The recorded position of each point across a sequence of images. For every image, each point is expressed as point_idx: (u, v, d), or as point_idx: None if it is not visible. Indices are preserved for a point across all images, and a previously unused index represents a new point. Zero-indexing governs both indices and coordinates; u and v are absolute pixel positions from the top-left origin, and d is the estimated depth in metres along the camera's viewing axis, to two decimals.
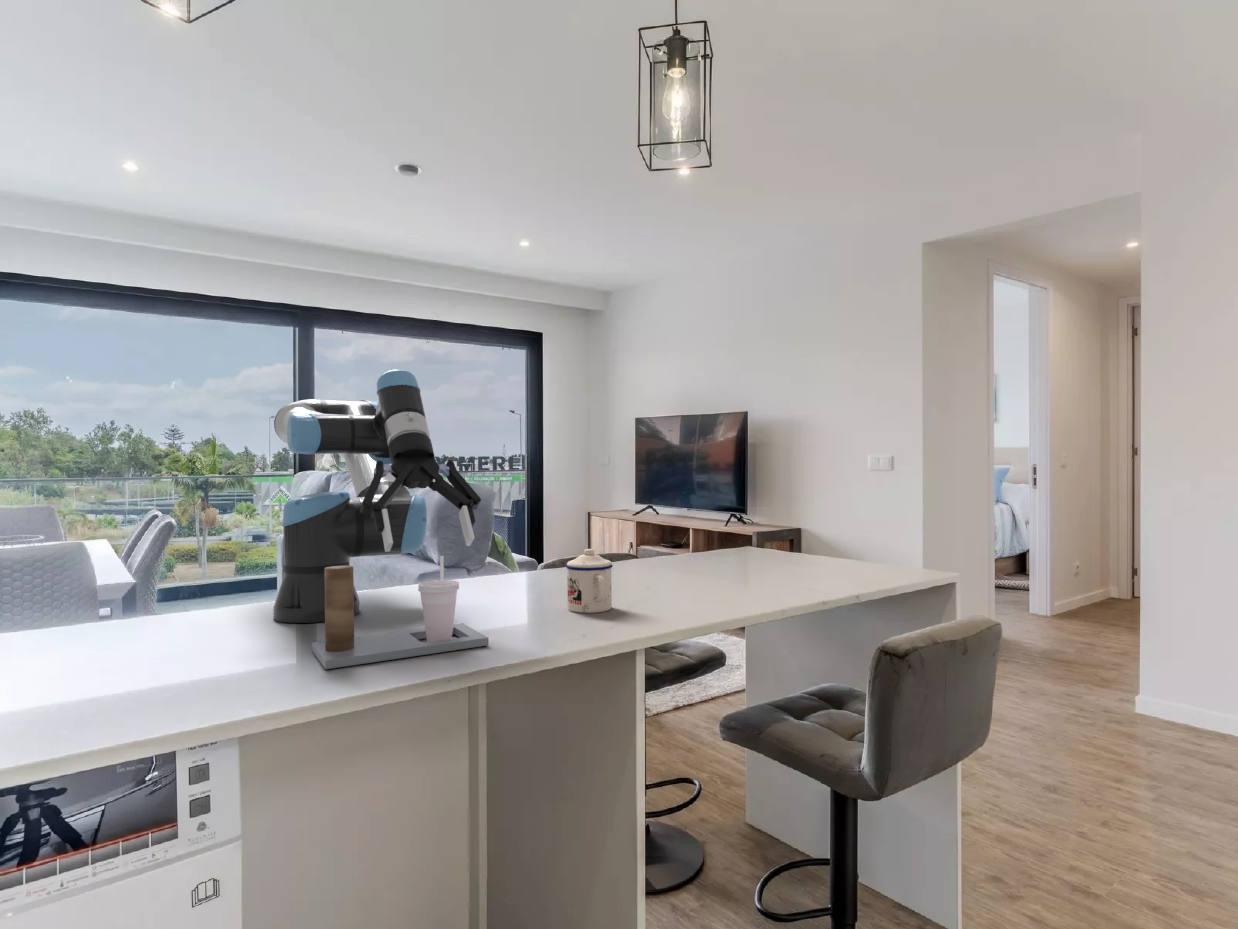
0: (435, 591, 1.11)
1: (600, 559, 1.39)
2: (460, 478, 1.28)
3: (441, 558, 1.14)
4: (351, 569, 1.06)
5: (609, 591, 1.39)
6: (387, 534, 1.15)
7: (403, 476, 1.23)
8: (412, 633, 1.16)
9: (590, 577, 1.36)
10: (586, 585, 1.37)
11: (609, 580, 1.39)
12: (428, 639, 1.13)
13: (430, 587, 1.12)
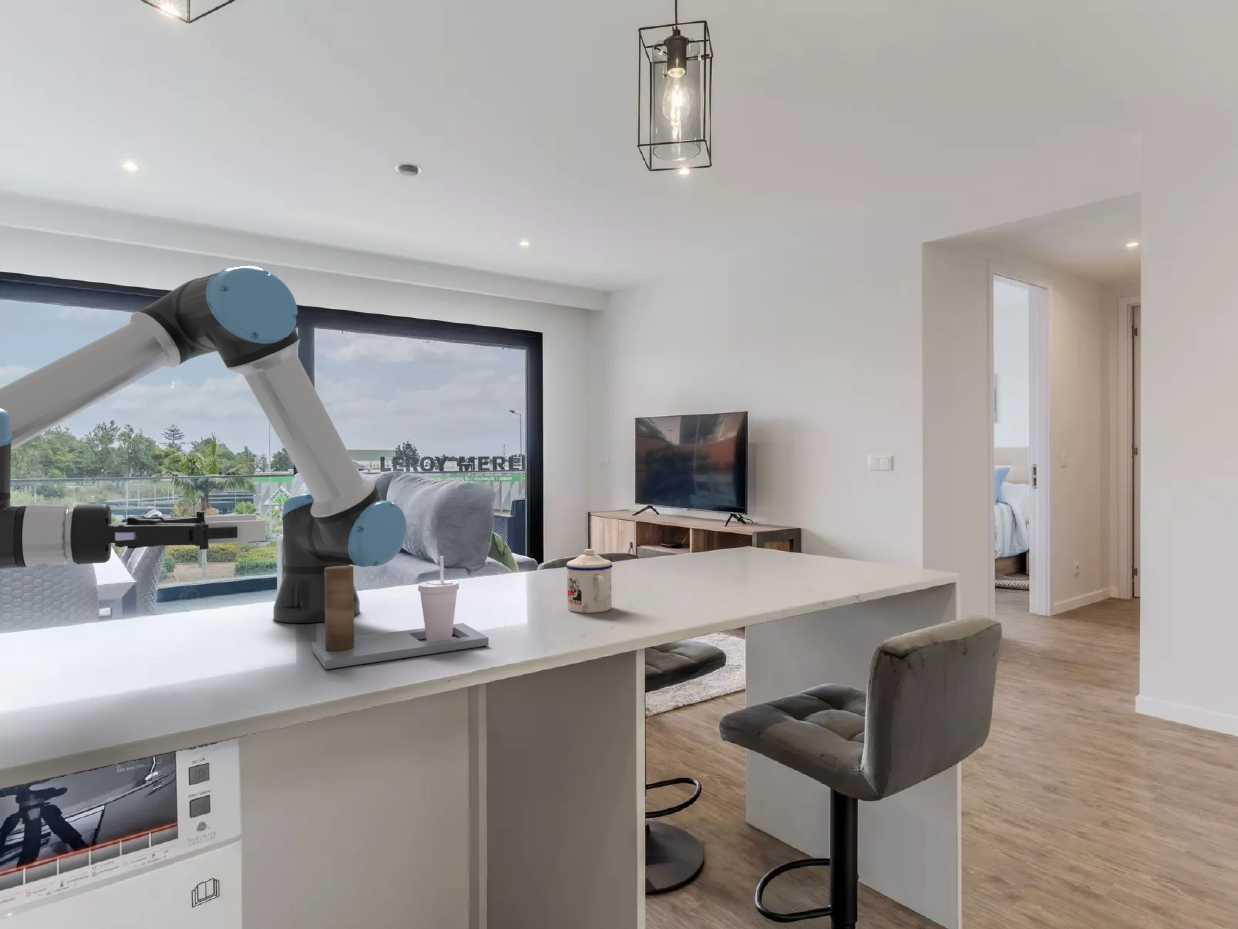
0: (435, 591, 1.11)
1: (600, 559, 1.39)
2: None
3: (441, 558, 1.14)
4: (351, 569, 1.06)
5: (609, 591, 1.39)
6: None
7: None
8: (412, 633, 1.16)
9: (590, 577, 1.36)
10: (586, 585, 1.37)
11: (609, 580, 1.39)
12: (428, 639, 1.13)
13: (430, 587, 1.12)
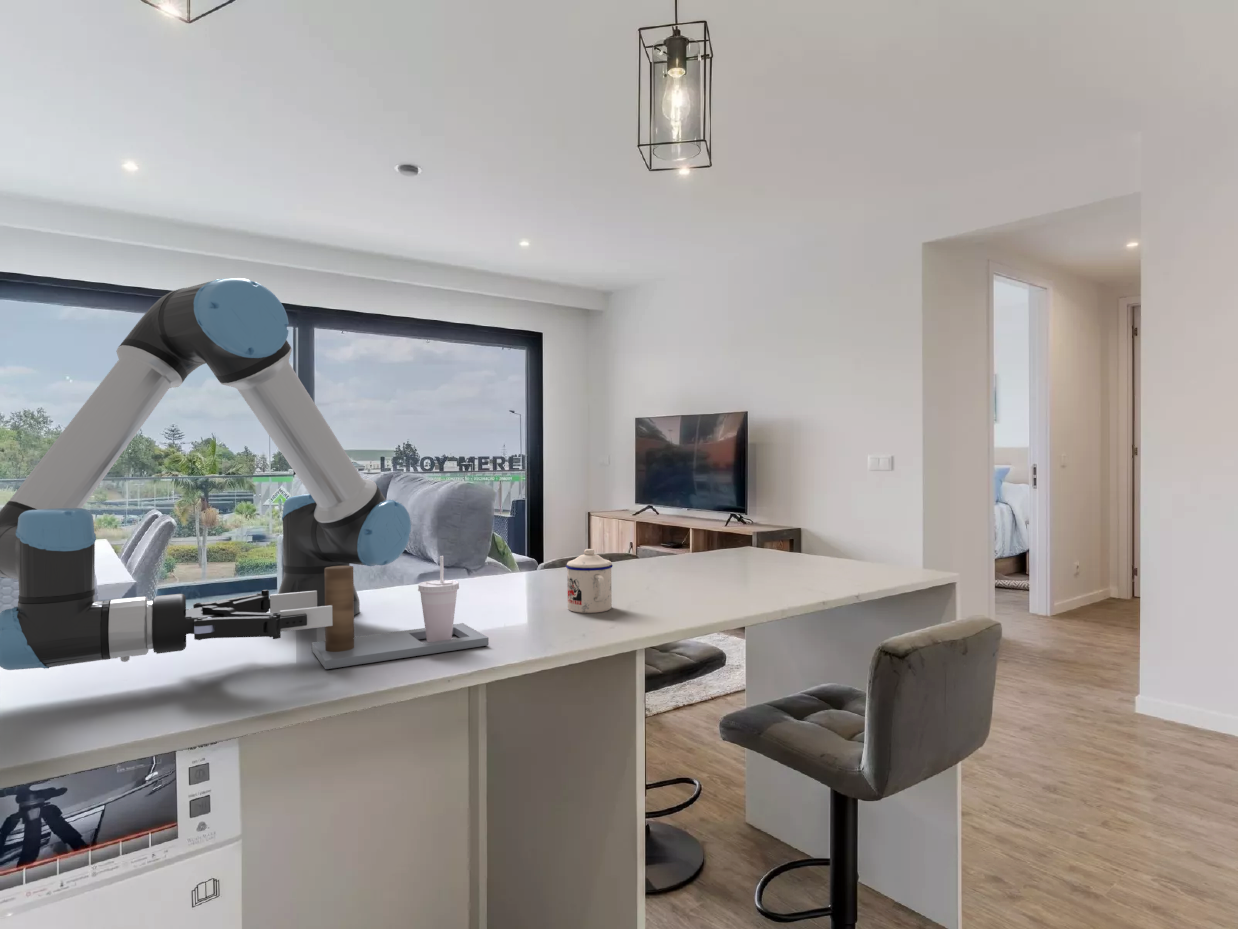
0: (435, 591, 1.11)
1: (600, 559, 1.39)
2: None
3: (441, 558, 1.14)
4: (351, 569, 1.06)
5: (609, 591, 1.39)
6: None
7: None
8: (412, 633, 1.16)
9: (590, 577, 1.36)
10: (586, 585, 1.37)
11: (609, 580, 1.39)
12: (428, 639, 1.13)
13: (430, 587, 1.12)
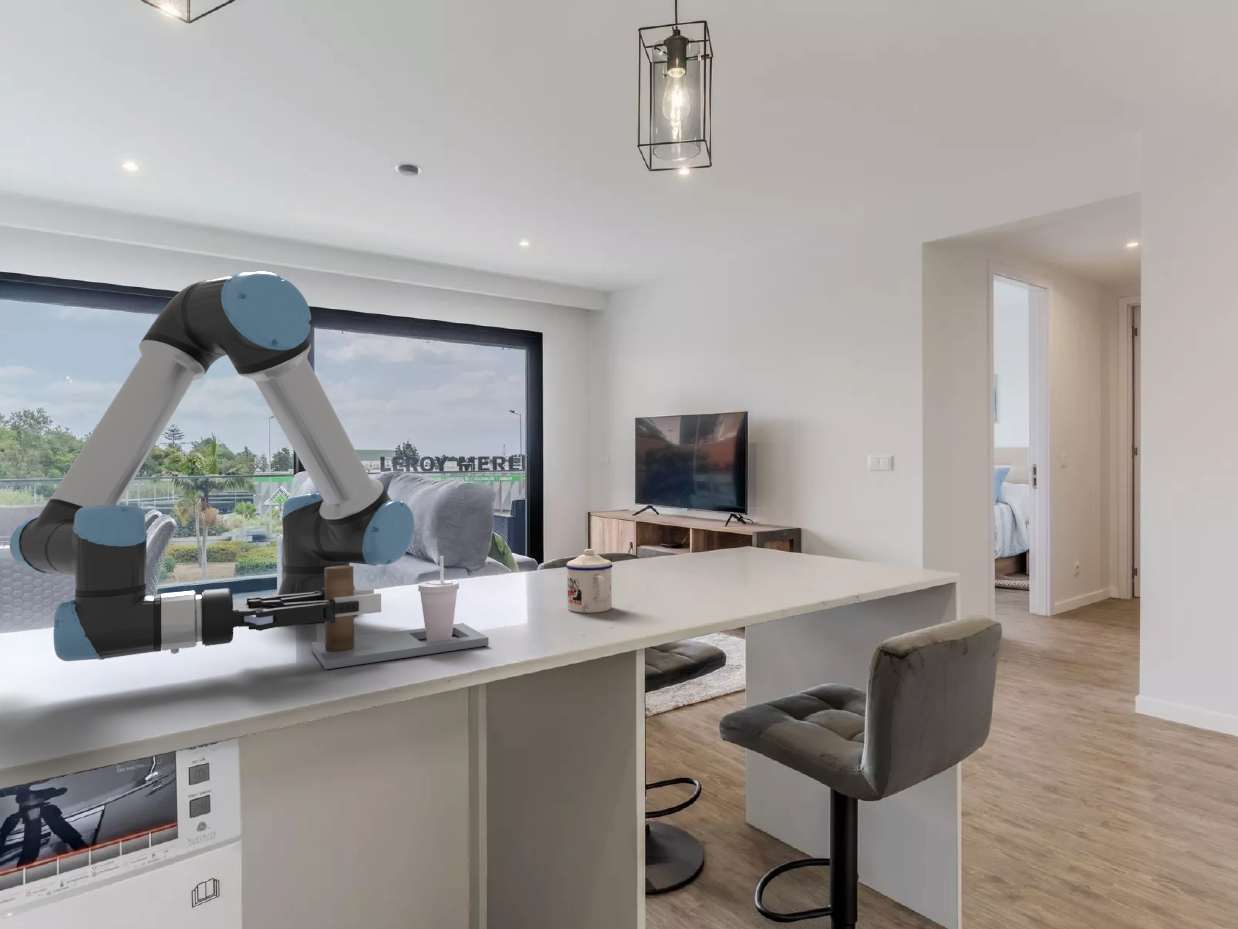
0: (435, 591, 1.11)
1: (600, 559, 1.39)
2: None
3: (441, 558, 1.14)
4: (351, 569, 1.06)
5: (609, 591, 1.39)
6: None
7: None
8: (412, 633, 1.16)
9: (590, 577, 1.36)
10: (586, 585, 1.37)
11: (609, 580, 1.39)
12: (428, 639, 1.13)
13: (430, 587, 1.12)
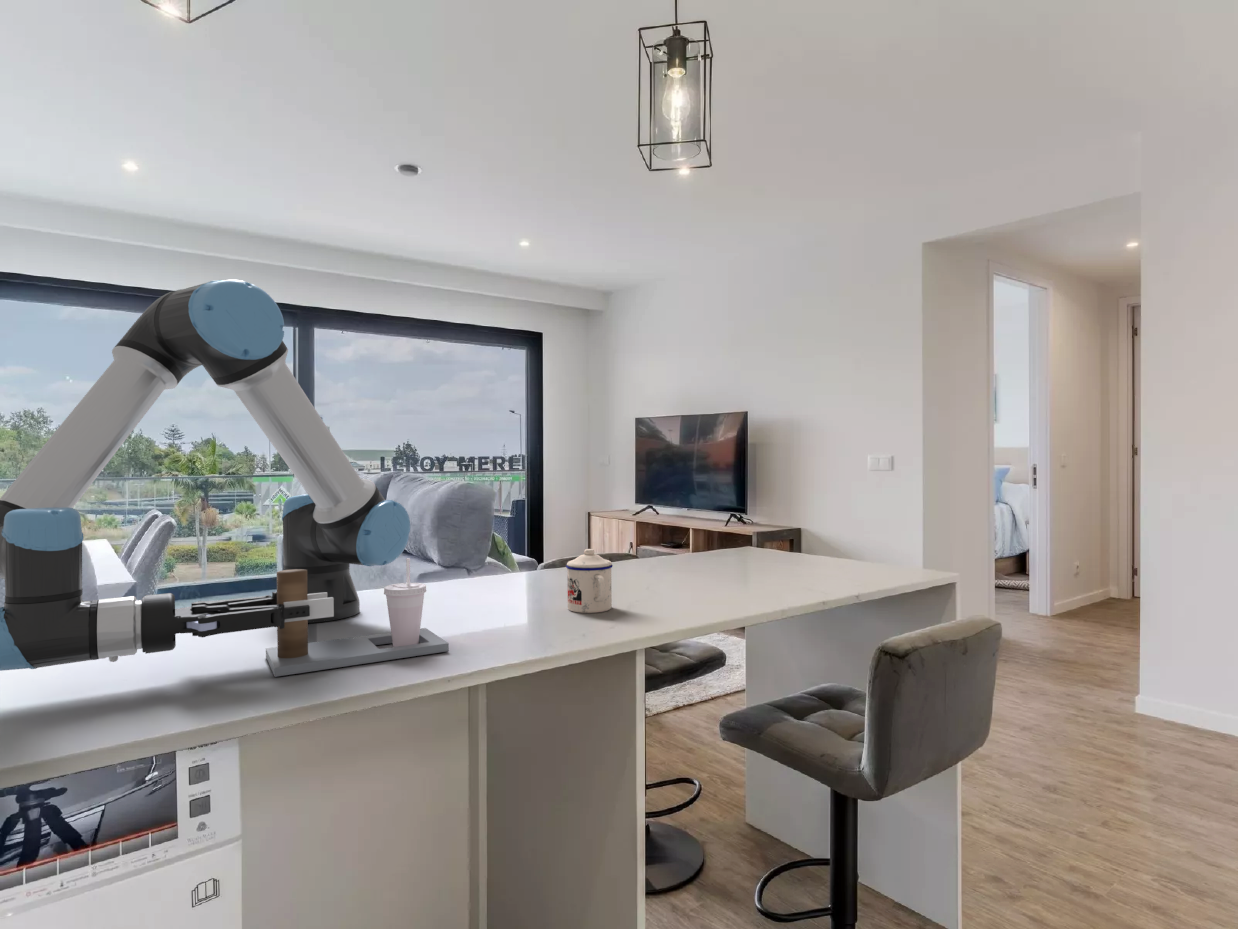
0: (399, 594, 1.09)
1: (600, 559, 1.39)
2: None
3: (407, 560, 1.12)
4: (304, 573, 1.03)
5: (609, 591, 1.39)
6: None
7: None
8: (371, 638, 1.13)
9: (590, 577, 1.36)
10: (586, 585, 1.37)
11: (609, 580, 1.39)
12: (393, 643, 1.11)
13: (394, 590, 1.09)
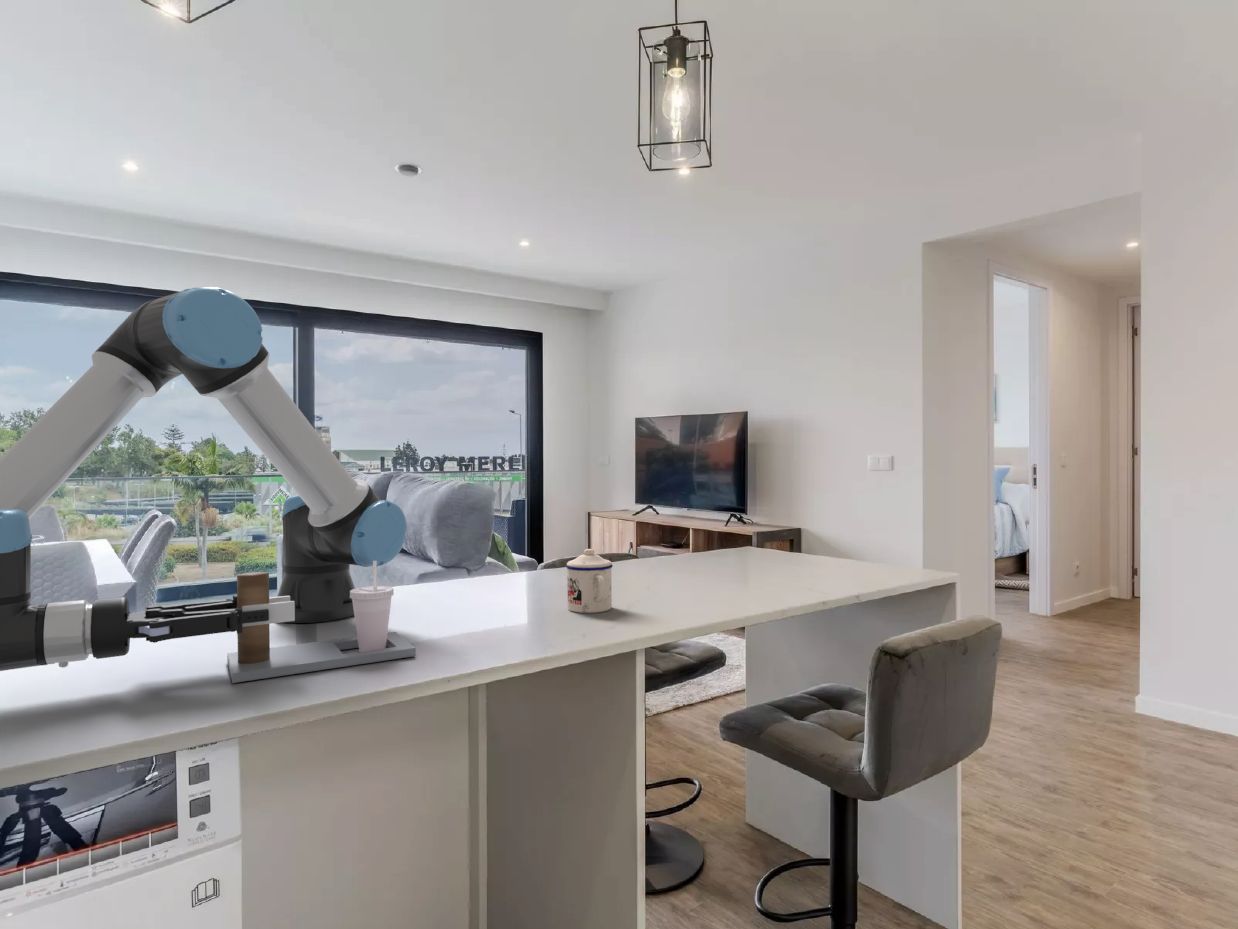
0: (365, 598, 1.06)
1: (600, 559, 1.39)
2: None
3: (374, 563, 1.09)
4: (265, 576, 1.01)
5: (609, 591, 1.39)
6: None
7: None
8: (337, 643, 1.10)
9: (590, 577, 1.36)
10: (586, 585, 1.37)
11: (609, 580, 1.39)
12: (359, 647, 1.08)
13: (360, 594, 1.06)
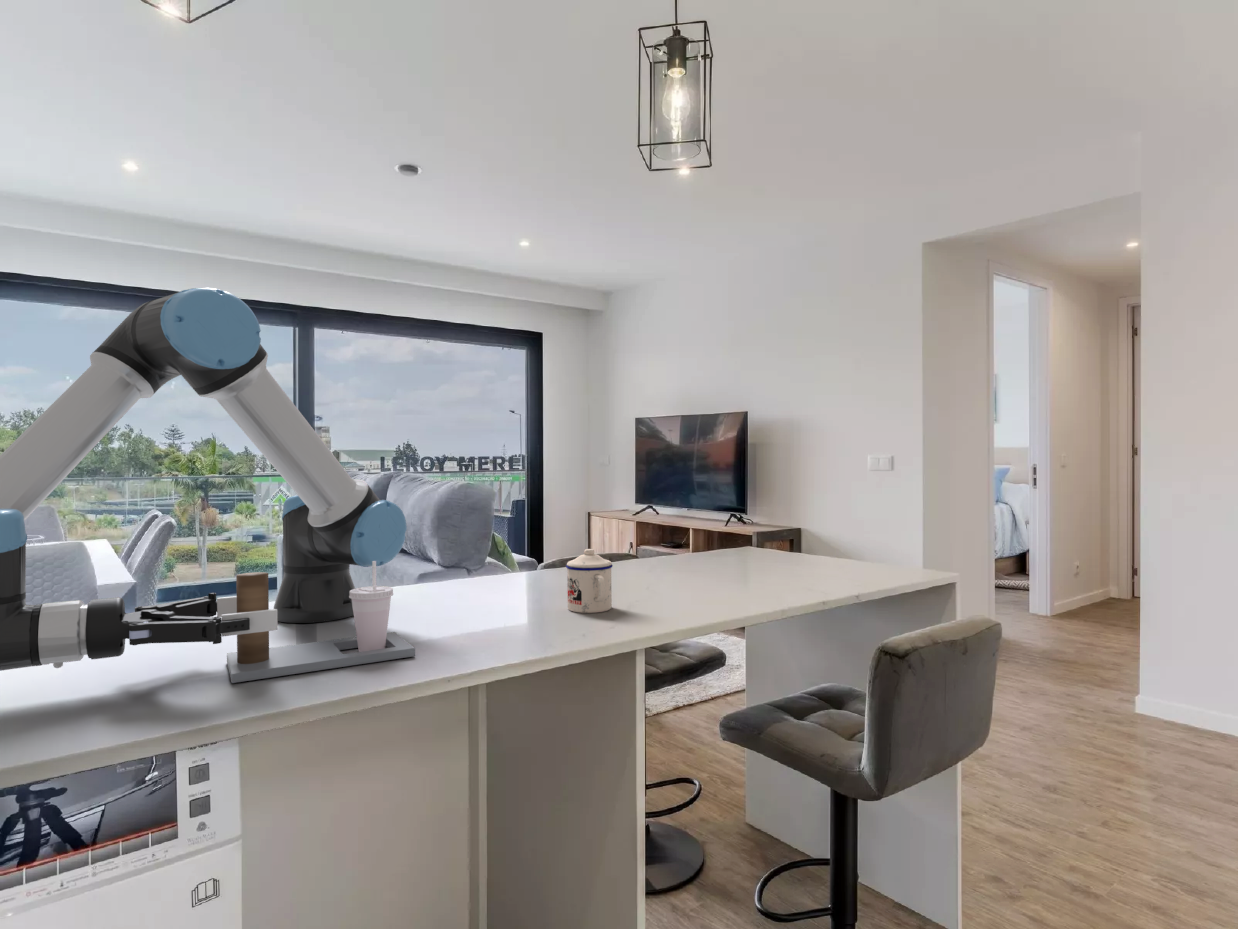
0: (364, 598, 1.06)
1: (600, 559, 1.39)
2: None
3: (373, 563, 1.09)
4: (265, 576, 1.00)
5: (609, 591, 1.39)
6: None
7: None
8: (337, 643, 1.10)
9: (590, 577, 1.36)
10: (586, 585, 1.37)
11: (609, 580, 1.39)
12: (359, 648, 1.08)
13: (359, 594, 1.06)
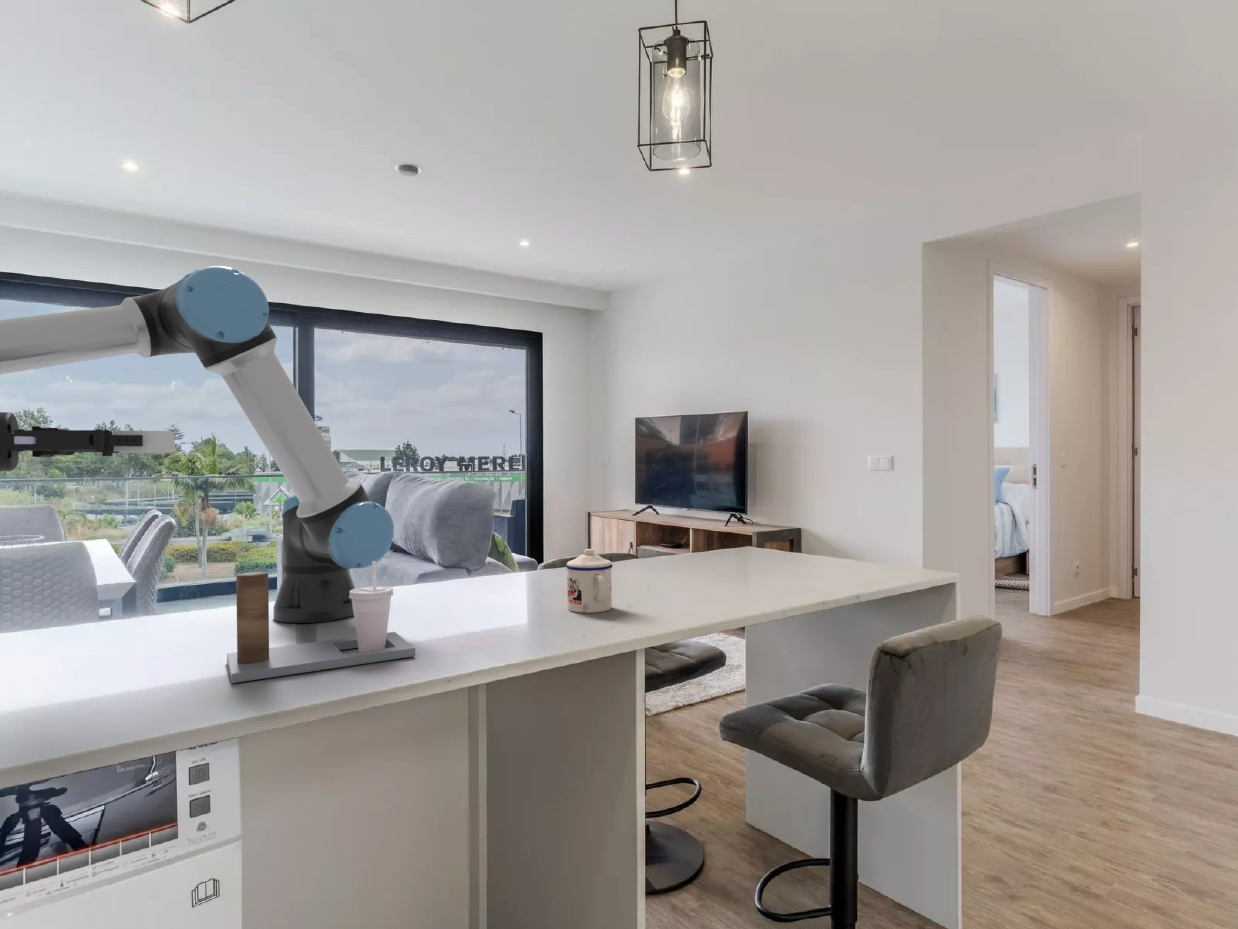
0: (364, 598, 1.06)
1: (600, 559, 1.39)
2: (55, 450, 0.88)
3: (373, 563, 1.09)
4: (265, 576, 1.00)
5: (609, 591, 1.39)
6: (161, 452, 1.06)
7: None
8: (337, 643, 1.10)
9: (590, 577, 1.36)
10: (586, 585, 1.37)
11: (609, 580, 1.39)
12: (359, 648, 1.08)
13: (359, 594, 1.06)
